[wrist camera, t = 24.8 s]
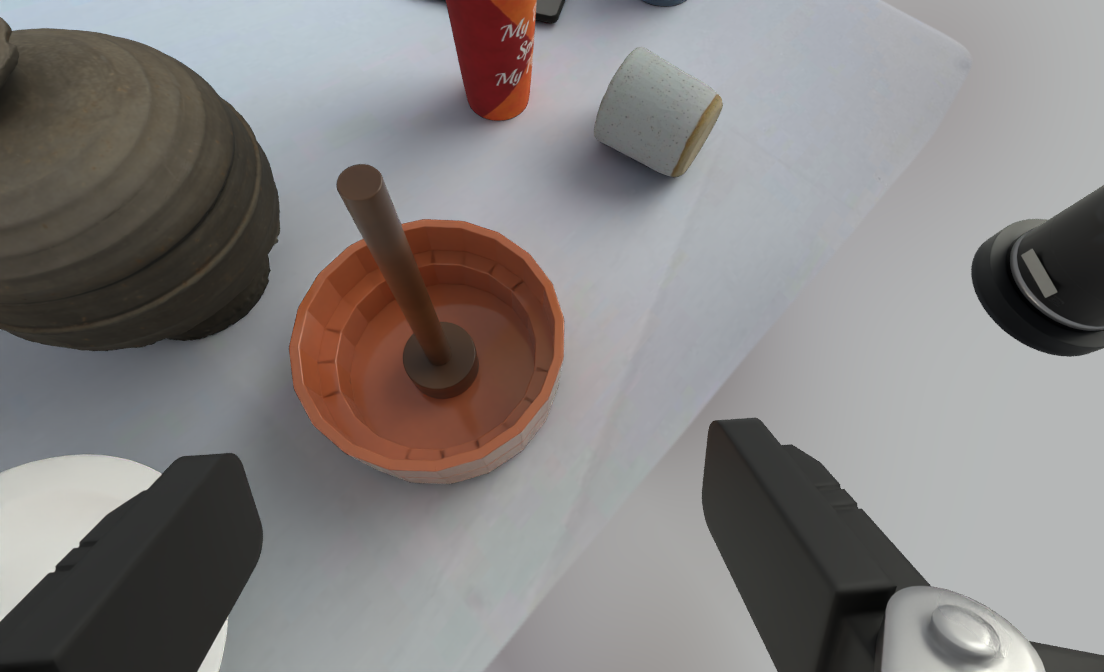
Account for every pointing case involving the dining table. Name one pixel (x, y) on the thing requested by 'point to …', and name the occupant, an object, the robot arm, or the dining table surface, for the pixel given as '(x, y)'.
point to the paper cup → (494, 53)
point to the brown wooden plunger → (409, 289)
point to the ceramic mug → (656, 113)
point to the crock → (664, 2)
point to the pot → (124, 196)
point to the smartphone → (548, 10)
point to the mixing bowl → (382, 332)
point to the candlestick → (64, 519)
